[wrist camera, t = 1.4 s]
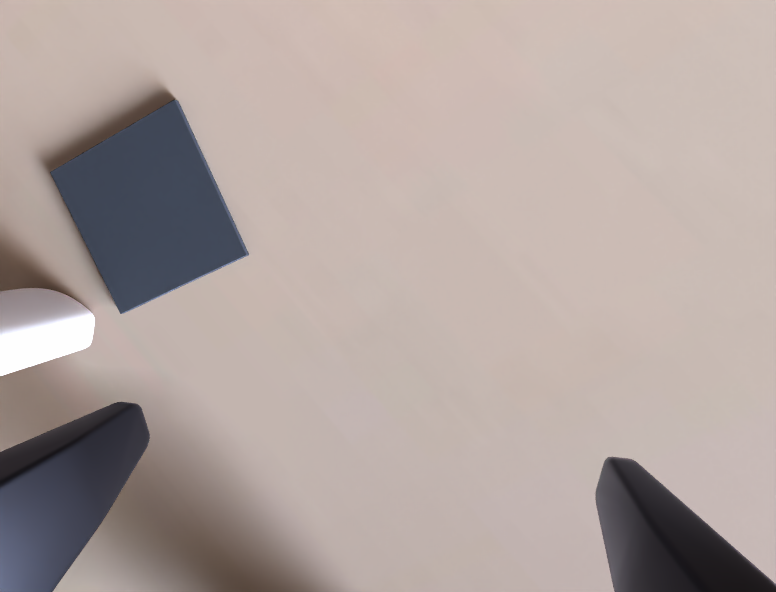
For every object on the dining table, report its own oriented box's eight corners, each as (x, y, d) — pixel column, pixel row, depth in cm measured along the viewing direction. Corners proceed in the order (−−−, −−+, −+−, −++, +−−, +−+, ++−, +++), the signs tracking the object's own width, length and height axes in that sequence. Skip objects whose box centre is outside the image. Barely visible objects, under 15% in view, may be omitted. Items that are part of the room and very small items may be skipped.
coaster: (249, 254, 23) (246, 255, 22) (124, 313, 25) (120, 314, 24) (178, 100, 22) (174, 98, 22) (54, 172, 24) (49, 172, 23)
